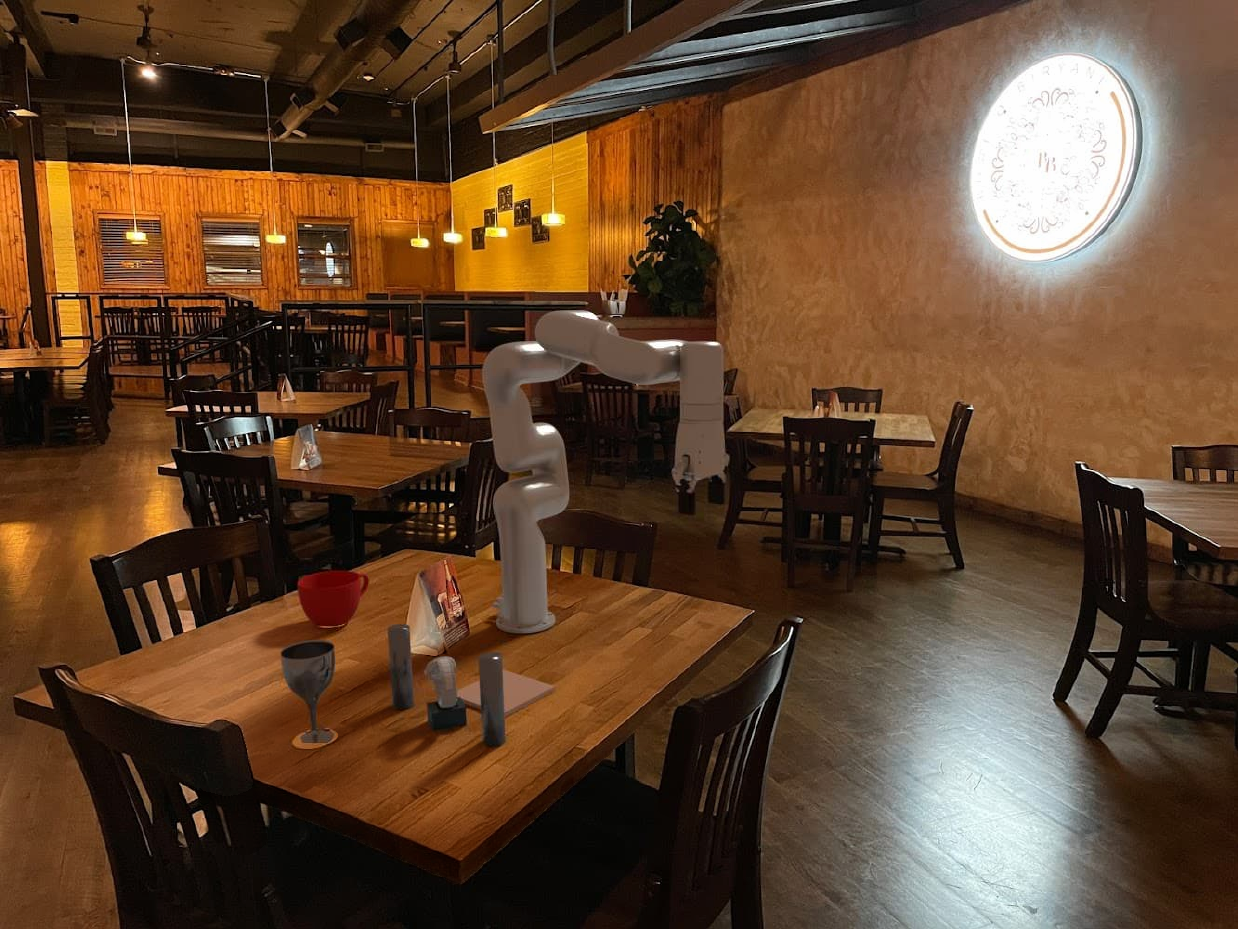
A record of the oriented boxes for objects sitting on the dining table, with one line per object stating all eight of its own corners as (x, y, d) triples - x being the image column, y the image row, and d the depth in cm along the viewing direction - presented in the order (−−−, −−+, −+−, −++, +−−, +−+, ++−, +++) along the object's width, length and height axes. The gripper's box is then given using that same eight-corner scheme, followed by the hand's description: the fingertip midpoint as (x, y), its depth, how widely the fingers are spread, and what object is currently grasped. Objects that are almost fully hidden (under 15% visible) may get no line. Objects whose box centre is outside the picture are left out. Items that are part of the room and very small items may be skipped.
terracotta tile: (449, 698, 155) (449, 694, 155) (502, 673, 165) (502, 669, 165) (503, 718, 147) (503, 713, 147) (555, 690, 157) (555, 686, 157)
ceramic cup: (389, 614, 198) (386, 571, 196) (328, 638, 184) (324, 592, 182) (350, 604, 205) (346, 562, 203) (288, 627, 191) (284, 583, 189)
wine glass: (296, 728, 145) (288, 641, 142) (346, 725, 146) (339, 638, 143) (282, 752, 137) (273, 660, 134) (335, 749, 138) (327, 658, 135)
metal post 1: (388, 706, 152) (383, 628, 150) (405, 698, 155) (400, 622, 153) (402, 711, 150) (396, 633, 148) (418, 704, 153) (413, 626, 150)
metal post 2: (477, 742, 139) (473, 658, 137) (494, 733, 142) (490, 650, 139) (494, 749, 137) (490, 663, 134) (510, 740, 140) (506, 656, 137)
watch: (458, 709, 151) (454, 647, 149) (469, 729, 143) (466, 665, 141) (425, 715, 149) (421, 653, 147) (434, 736, 141) (430, 671, 139)
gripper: (709, 406, 164) (709, 497, 167) (655, 417, 150) (656, 515, 153) (745, 409, 159) (744, 502, 162) (693, 420, 146) (693, 521, 149)
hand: (701, 508), depth 158 cm, fingers open, 9 cm apart
